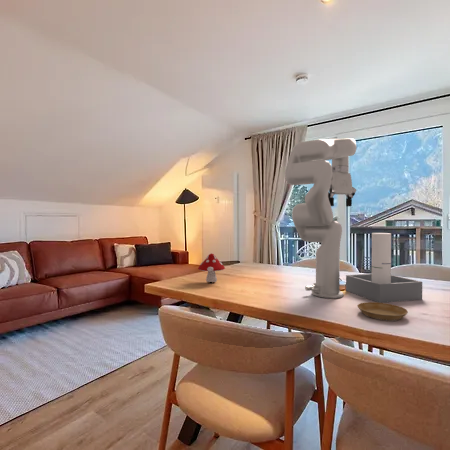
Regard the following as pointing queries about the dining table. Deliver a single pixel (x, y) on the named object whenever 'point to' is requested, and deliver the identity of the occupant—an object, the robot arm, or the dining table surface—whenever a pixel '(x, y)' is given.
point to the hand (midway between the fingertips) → (340, 206)
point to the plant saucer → (382, 311)
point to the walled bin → (384, 288)
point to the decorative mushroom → (211, 267)
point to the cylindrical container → (381, 258)
